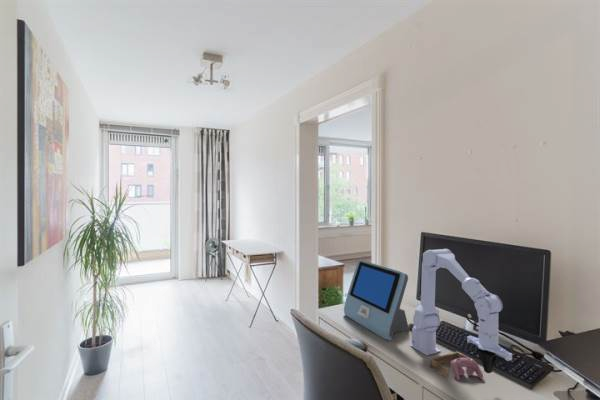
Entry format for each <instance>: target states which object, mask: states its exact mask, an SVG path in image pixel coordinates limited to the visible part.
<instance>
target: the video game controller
mask: <svg viewBox="0 0 600 400" xmlns="http://www.w3.org/2000/svg"><path fill="white" fill-rule="evenodd" d="M469 358H470V357H469ZM469 358H457V359H454V360H452V361H451V362H450V367H451V369H452V372H453V375H454V377H455V378H456V380H458V381H460V379H461V376H464V375H465V374H467V376H472V375H473V374H474V372H475V374H476V375H477V377H478V378H479V379H480V380H483V379H484V375H483V371H482V370H481V368H480V365H479V364H478V362H476V360H475V359H472V358H471V359H469ZM463 367H466V369H465V370H464V368H463Z"/></svg>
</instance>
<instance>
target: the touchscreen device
mask: <svg viewBox="0 0 600 400" xmlns="http://www.w3.org/2000/svg"><path fill="white" fill-rule="evenodd" d="M357 261H358V262H357V263H356V266H355V270H354V273H353V276H352V279H351V281H350V285H349V288H348V291H347V295H346V297H345V301H344V302H345V303H344V306H343V307H344V308H343V312H344V315H345V316H346V317H348V318H349V319H351V320H352V321H354V322H355V323H357V324H359V325H360V326H362V327H363V328H365V329H367V330H369V331H371V332H372V333H374V334H375V335H378V336H379V337H381V338H382V339H385V340H386V341H389V342H391V340H392V338H393V334H394V333H398V332H399V333H400V332H405V331H409V330H410V329H409V323H408V319H407V315H406V312H405V309H402V308H401V305H402V302H403V297H404V294H405V292H406V288H407V285H408V280H409V276H408V274H406V273H404V272H402V271H399V270H397V269H392V268H388V267H386V266H382V265H379V264H376V263H372V262H369V261H366V260H363V259H360V260H359V259H358V260H357Z"/></svg>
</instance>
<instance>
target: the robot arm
mask: <svg viewBox="0 0 600 400" xmlns="http://www.w3.org/2000/svg"><path fill="white" fill-rule="evenodd" d="M440 268H443V269H447V270H448V271H449V272H450V273H451V274H452V275H453V276H454V277H455V278H456V279H457V280H458V281H459V282H460V283H461V289H462V290H463V291H464V292H465V293H466V294H467V295H468V296H469V297H470V299H471V300H472V301H473V303H474V304H473V305H474V308H475V309H476V312H477V315H476V316H477V317H478V337H475V336H473V335H468V336H466V342H467V343H469V344H473V345H475V346H477V348H478V349H476V353H477V355H478V357H479V358H480V361H481V363H482V367H483V371H484V373H486V374H491V373H493V370H494V366H495V364H496V362H497V361H498V359H499V357H501V358H502V359H505V361H506V362H509V361H512V360H513V353H512V352H509V351H507V350H506V349H504V348H503V347H501V346H500V345H499V313H500V312H501V311H502V310H503V307H504V305H503V302H502V299H500V297H499V296H498V295H497V294H493V293H492V292H489V291H488V290H487V289H486V288H485V286H484V285H482V284H481V282H480V280H478V279H477V278H475V277H470V276H469V274H468V273H467V271H465V270H464V269H463V267H462V266H461V265H460V263H459V262H458V261H457V260H456V256H455V254H454V253H453V252H452V251H451V250H450V249H449V248H442V249H441V248H439V249H428V250H425V251H424V252H423V253H422V262H421V281H420V282H421V284H420V304H419V306H417V307H416V308H415V309H414V315H413V320H412V323H413V326H412V328H411V344H409V345H410V347H412V348H413V349H415V350H417V351H419V352H420V353H422V354H424V355H425V356H429V355H433V354H436V353H440V352H441V349H440V348H438V347H437V330H438V327H439V326H440V324H441V317H440V311H439V310H438V308H436V307H435V305H436V303H435V302H436V278H437V277H436V274H437V273H436V272H437V270H438V269H440Z"/></svg>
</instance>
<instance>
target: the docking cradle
mask: <svg viewBox="0 0 600 400" xmlns="http://www.w3.org/2000/svg"><path fill="white" fill-rule="evenodd" d="M457 358H469V359H472V358H471V357H470V356H467V355H465V354H464V353H461V352H459V351H454V352H451V353H447V354H443V355H440V356H437V357H433V358H430V359H429V360H430V361H429V363H430V365H429V366H430V369H432V370H434V371H435V372H437V373H439V374H440V373H441V374H440V375H442V376H444V377H445V378H447V377H449V368H448V367H447V366H445V365H447V364H451V361H452V360H454V359H457Z"/></svg>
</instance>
